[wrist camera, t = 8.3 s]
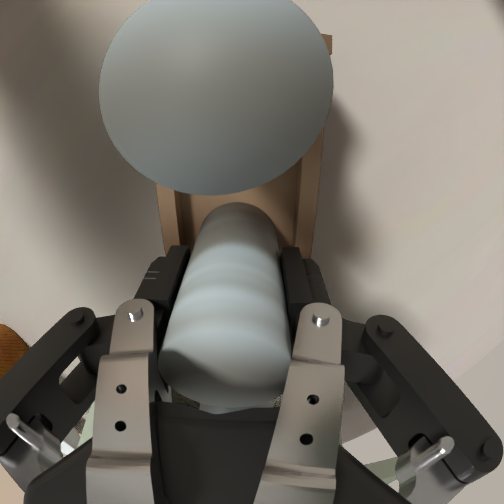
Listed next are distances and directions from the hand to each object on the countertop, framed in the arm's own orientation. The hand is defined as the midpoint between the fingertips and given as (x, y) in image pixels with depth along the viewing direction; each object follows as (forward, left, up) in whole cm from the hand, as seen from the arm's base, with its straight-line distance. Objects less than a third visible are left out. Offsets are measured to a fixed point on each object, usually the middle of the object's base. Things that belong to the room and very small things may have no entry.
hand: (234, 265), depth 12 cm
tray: (0, 0, -4) cm, 4 cm away
